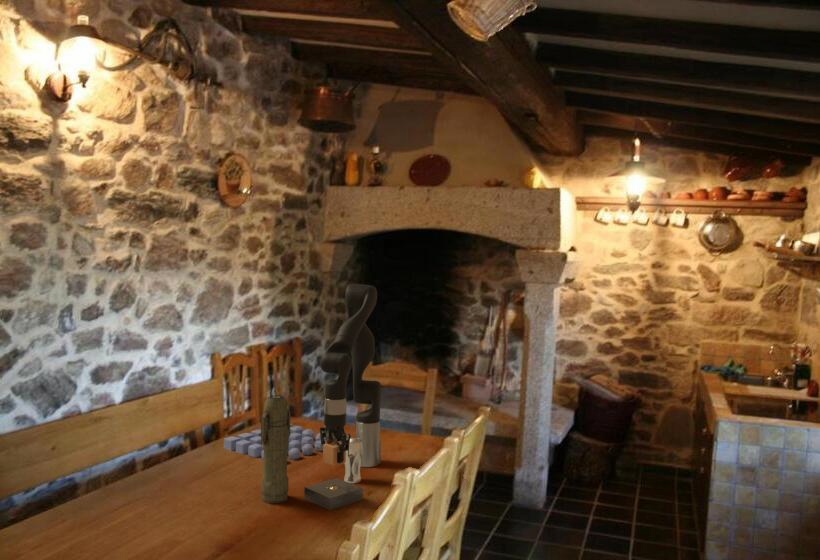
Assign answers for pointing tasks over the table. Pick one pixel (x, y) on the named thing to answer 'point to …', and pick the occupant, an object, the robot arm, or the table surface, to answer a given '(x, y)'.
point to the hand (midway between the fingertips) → (334, 460)
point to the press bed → (333, 493)
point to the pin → (333, 487)
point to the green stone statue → (275, 449)
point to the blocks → (254, 448)
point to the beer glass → (353, 461)
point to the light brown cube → (331, 454)
